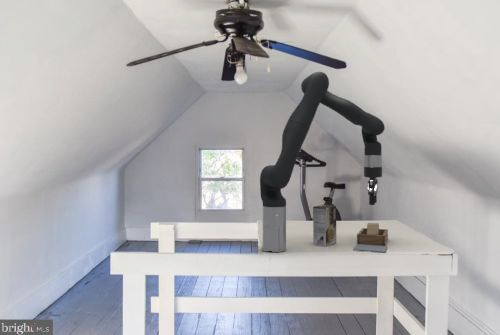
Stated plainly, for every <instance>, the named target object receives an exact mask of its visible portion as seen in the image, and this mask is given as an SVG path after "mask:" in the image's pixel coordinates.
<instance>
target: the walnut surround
mask: <svg viewBox="0 0 500 335" xmlns="http://www.w3.org/2000/svg"><path fill="white" fill-rule="evenodd" d="M388 239H389V229H387V228H386V229H383V228H379V235H367V227H366V228H364V227H362V228H361V229H360V230H359V232H357V233H356V245H357V244H363V245H378V246H387V243H388V241H389V240H388Z"/></svg>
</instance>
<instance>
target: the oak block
mask: <svg viewBox="0 0 500 335" xmlns="http://www.w3.org/2000/svg"><path fill="white" fill-rule="evenodd" d="M366 228H367V235H379V229H380V224H379V223H377V222H376V223H375V222H368V223H367V224H366Z"/></svg>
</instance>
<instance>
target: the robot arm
mask: <svg viewBox="0 0 500 335" xmlns="http://www.w3.org/2000/svg"><path fill="white" fill-rule="evenodd" d="M329 87H330V80H329V77H328V75H327V74H326V73H325V72H322V71H316V72H313V73H312V74H310V75H308V76H307V77H306V78H304V79H303V80H302V82H301V87H300V89H301V91H302V92H301V93H303V96H302V97H301V98H302V99H301V100H300V102H299V103H298V105H297V106H296V107H295V108H294V110H293V112H291V115H290V116H289V118H288V119H287V122H286V124H285V126H284V129H283V131H282V136H281V152H280V155H279V157H278V159H277V161H276V162H275V164H273V165H272V164H271V165H270V164H269V165H266V166H264V167H263V168H262V170H261V172H260V174H259V176H260V177H259V187H260V188H259V190H260V191H259V192H260V198H261V202H262V251H263V252H268V251H272V253H280V252H284V251H286V250H287V199H286V198H285V197H284V195H283V194H282V189H284V188H286V187H287V186H288V184H289V183H290V181H291V178H292V174H293V172H294V167H295V165H296V162H297V159H298V156H299V154H300V152H301V149H302V147H303V145H304V142H305V141H306V138H307V135H308V133H309V130H310V128H311V125H312V123H313V121H314V118H315V117H316V113H317V110H318V108H319V105H320V104H322V105H323V106H326V107H327V108H329V109H330V110H332V111H334V112H336V113H337V114H339V116H342V117H343V118H344V119H345V120H347V121H349V122H350V123H352V124H353V125H355V126H360V127H361V137H362V141H363V146H364V158H363V176H364V177H365V178H369V179H368V180H367V192H368V193H367V194H368V197H369V199H368V202H369V203H368V204H369V206H375V204H377V200H378V199H377V198H378V197H377V196H378V191H379V189H378V188H379V180H378V178H382V177H383V158H382V143H381V142H380V141H379V140H378V138H377V136H379V135H381V134H383V133H384V131H385V124H384V121H383V120H381V119H380V118H379V117H377V116H376V115H373V114H371V113H369V112H367V111H366V110H364V109H362V108H361V107H360V106H358V105H357V104H355V103H354V102H353V101H351V100H349V99H346V98H343V97H340V96H338V95H336V94H333V93H332V92H330V91H329Z"/></svg>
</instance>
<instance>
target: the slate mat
mask: <svg viewBox="0 0 500 335" xmlns="http://www.w3.org/2000/svg"><path fill="white" fill-rule="evenodd" d="M353 250H359V251H358V252H364V251H371V252H370V253H379V254H380V253H381V254H386V252H387V250H388V246H387V245H386V246H378V245H363V244H357V243H356V244H355V246H354V247H353ZM353 250H352V251H353Z"/></svg>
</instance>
